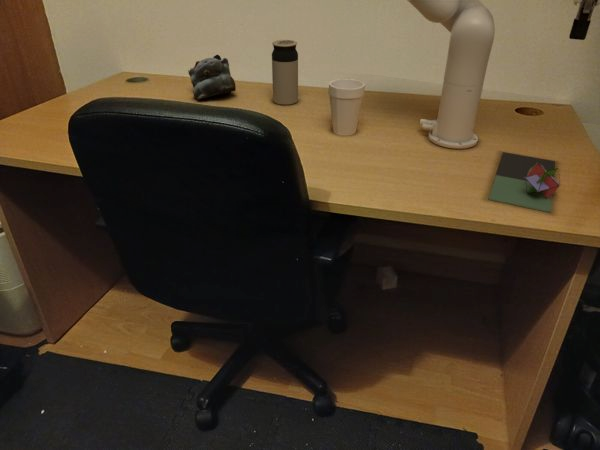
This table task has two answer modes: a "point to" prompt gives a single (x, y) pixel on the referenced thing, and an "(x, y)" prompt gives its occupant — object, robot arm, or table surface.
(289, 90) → the travel mug
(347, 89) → the foam cup
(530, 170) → the geometric puzzle
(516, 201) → the desk pad
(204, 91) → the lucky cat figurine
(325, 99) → the table surface
